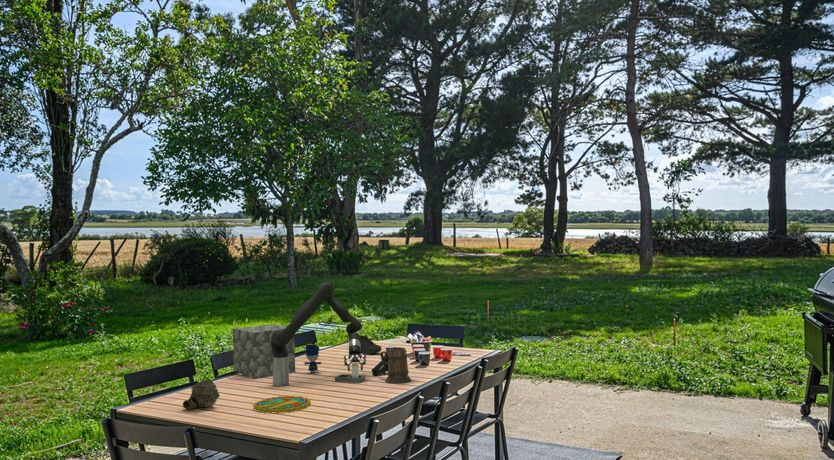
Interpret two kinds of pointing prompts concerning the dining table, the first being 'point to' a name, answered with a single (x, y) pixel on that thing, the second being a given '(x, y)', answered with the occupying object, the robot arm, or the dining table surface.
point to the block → (258, 351)
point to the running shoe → (368, 346)
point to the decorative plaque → (282, 404)
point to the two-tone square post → (355, 370)
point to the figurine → (312, 357)
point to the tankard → (395, 366)
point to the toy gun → (380, 367)
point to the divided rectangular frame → (349, 379)
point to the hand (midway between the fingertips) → (355, 370)
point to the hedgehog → (202, 395)
